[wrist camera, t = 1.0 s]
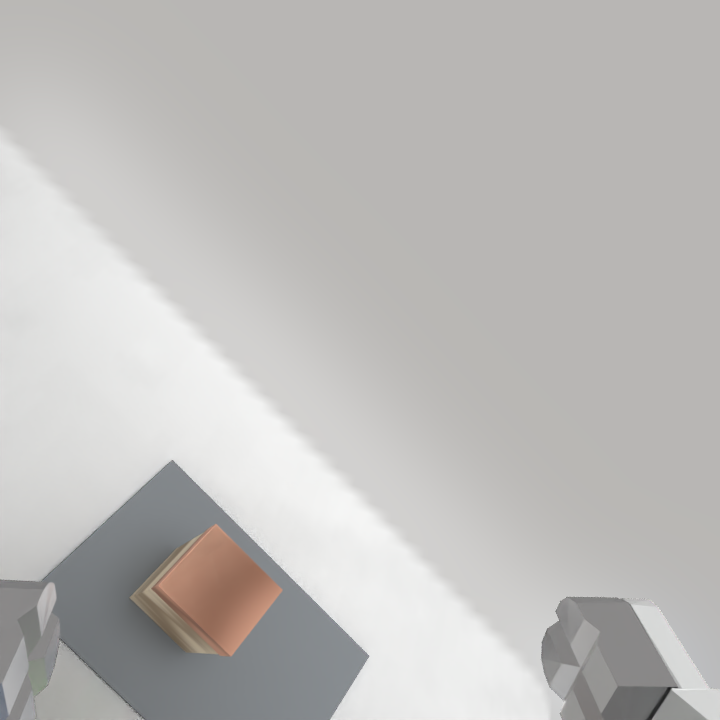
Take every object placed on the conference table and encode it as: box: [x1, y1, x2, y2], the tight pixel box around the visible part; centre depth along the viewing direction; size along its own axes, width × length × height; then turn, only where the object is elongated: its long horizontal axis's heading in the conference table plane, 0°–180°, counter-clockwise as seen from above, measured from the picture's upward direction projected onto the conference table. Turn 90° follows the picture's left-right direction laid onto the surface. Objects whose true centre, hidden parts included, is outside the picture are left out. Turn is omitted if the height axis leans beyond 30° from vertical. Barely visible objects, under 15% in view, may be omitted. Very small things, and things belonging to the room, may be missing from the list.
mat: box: [41, 460, 369, 720], centre depth 40 cm, size 20×12×1 cm, turn 51°
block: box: [129, 524, 283, 657], centre depth 35 cm, size 5×4×10 cm
